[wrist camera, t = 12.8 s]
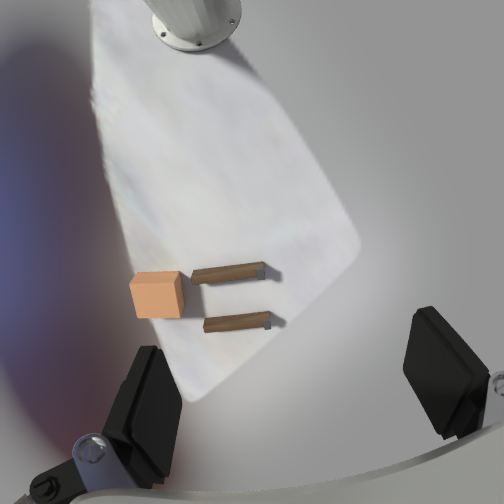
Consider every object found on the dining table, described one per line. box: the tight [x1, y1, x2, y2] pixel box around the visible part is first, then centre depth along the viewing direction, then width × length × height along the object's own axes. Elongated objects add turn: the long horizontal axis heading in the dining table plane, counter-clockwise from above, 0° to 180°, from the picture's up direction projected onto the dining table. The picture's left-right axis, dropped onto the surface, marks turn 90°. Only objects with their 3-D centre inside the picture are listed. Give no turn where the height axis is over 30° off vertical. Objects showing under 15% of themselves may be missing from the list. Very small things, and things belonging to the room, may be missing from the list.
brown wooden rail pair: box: [191, 262, 271, 333], centre depth 45 cm, size 10×10×3 cm
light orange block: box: [129, 271, 185, 318], centre depth 45 cm, size 6×7×4 cm
